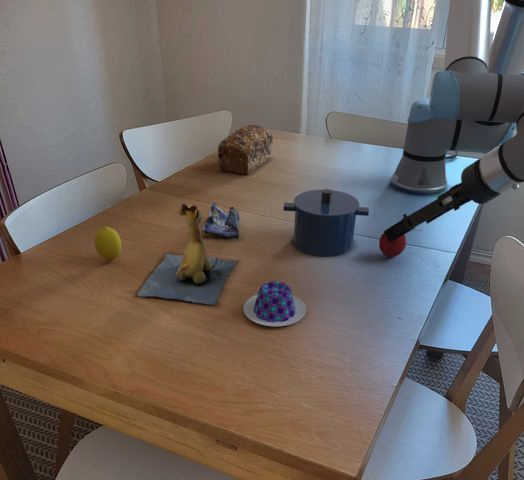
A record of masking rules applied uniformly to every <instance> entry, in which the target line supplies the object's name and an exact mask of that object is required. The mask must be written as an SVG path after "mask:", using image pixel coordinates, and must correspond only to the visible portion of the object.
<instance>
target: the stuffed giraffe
mask: <svg viewBox="0 0 524 480" xmlns="http://www.w3.org/2000/svg"><path fill="white" fill-rule="evenodd" d="M177 213H178V214H179V215H180V216H185V218H186V224H187V227H188V232H189V241H188V243H187V246H186V248H185V250H184V252H183V254H182V255H181V254H171V253H169V252H168V253H165V255H164V257H163V260H162V261H161V262H160V264H158V265H157V266H156V268H155V269H153V272H152V273H151V274H150V275H149V277H148V278H147V279H146V281H145V282H144V284H143V285H142V287H141V289H140V290H139V291H138V292H137V294H136V296H137V297H141V298H143V297H157V298H163V299H171V300H172V299H173V300H180V301H186V302H192V303H194V304H204V305H208V306H209V305H211V306H212V305H213V306H215V305H216V303H217V301H218V298H219V296H220V294H221V291H222V290H223V287H224V285H225V283H226V281H227V279H228V278H229V276H230V274H231V272H232V270H233V268H234V267H235V266H236V264H237V260H226V259H220V258H218V257H208V255H207V251H206V246H205V243H204V240H203V237H202V234H201V230H200V229H201V228H200V223H201V222H202V215H201V212H200V210H199V208H198V207H197V205H196V204H189V205H187V204H185V203H181V205H180V206H179V207H178V209H177Z"/></svg>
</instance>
